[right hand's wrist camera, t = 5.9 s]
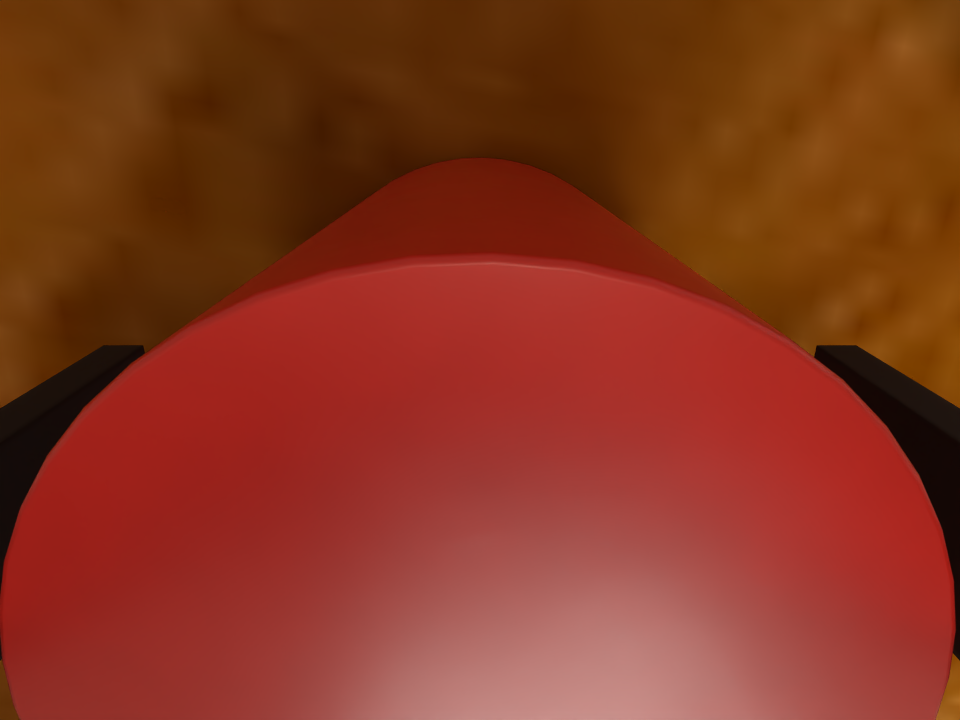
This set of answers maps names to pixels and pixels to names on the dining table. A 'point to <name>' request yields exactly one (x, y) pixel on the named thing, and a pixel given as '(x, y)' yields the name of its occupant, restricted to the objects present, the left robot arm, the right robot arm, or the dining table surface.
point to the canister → (477, 495)
